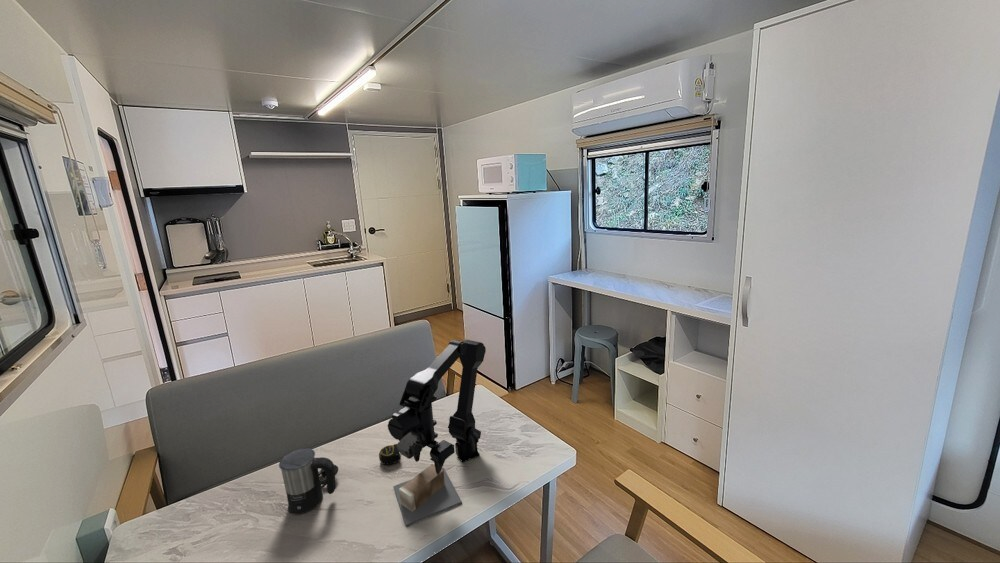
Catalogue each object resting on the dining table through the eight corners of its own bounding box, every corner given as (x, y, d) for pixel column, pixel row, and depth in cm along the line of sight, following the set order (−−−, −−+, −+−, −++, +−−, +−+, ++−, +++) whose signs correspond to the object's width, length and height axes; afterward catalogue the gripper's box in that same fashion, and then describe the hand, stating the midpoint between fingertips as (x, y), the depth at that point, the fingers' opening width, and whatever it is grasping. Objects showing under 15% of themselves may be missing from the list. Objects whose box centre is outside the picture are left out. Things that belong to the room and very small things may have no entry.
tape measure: (401, 464, 126) (400, 454, 125) (379, 469, 124) (378, 459, 123) (400, 451, 132) (399, 441, 131) (379, 456, 130) (378, 446, 129)
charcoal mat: (443, 469, 122) (443, 467, 122) (461, 503, 108) (461, 501, 108) (393, 487, 115) (393, 486, 115) (406, 526, 101) (405, 524, 101)
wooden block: (432, 463, 117) (399, 488, 107) (443, 470, 114) (410, 496, 104) (433, 477, 118) (400, 503, 108) (444, 484, 115) (412, 511, 105)
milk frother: (286, 520, 105) (277, 474, 102) (290, 482, 119) (282, 441, 116) (341, 501, 111) (334, 457, 108) (339, 468, 125) (332, 428, 122)
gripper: (379, 422, 108) (385, 470, 111) (423, 446, 97) (428, 498, 100) (410, 405, 117) (415, 449, 120) (453, 425, 105) (457, 473, 109)
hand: (427, 467), depth 112 cm, fingers open, 9 cm apart
